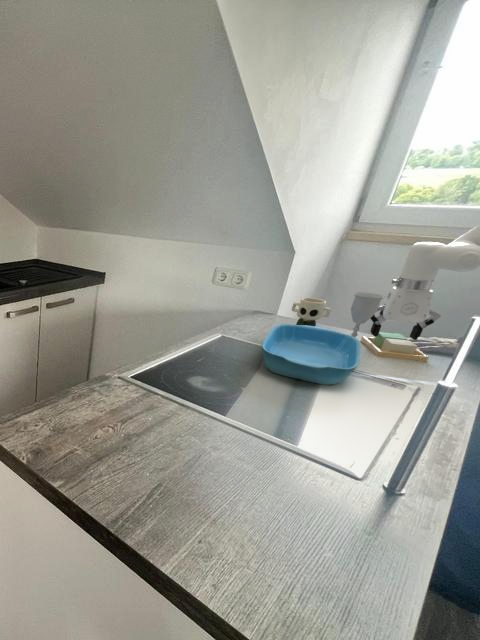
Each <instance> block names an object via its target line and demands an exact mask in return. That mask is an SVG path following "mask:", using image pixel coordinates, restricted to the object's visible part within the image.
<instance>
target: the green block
mask: <svg viewBox="0 0 480 640" xmlns="http://www.w3.org/2000/svg"><path fill="white" fill-rule="evenodd" d="M374 338H375V339H374V341H373V344H375V345H376V346H377V347H378V348H382V345H383V343H384V340H385V338H388V339H398V340H408V338H407V337H406V336H404V335H402V334H401V333H393V332H383V331H379V334H378V336H374Z"/></svg>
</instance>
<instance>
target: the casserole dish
mask: <svg viewBox="0 0 480 640" xmlns="http://www.w3.org/2000/svg"><path fill="white" fill-rule="evenodd" d="M261 350H262V358H263V363H264V366H265V367H266V368H267V369H268V370H269V371H270V372H272V373H274V374H277V375H280V376H284V377H288V378H292V379H295V380H300V381H304V382H308V383H313V384H319V385H326V386H327V385H328V386H331V385H335V384H336V385H337V384H339V383H341V382H343V381H344V380H346V379H347V378H348V377H349V376H350V375H351V374H352V373H353V372H354V370H355V369H357V368H358V367H359V365H360V362H361V342H360V340H359V339H358V338H357V337H353V336H351V334H347V333H343V332H340V331H336V330H333V329H329V328H325V327H320V326H316V327H315V326H307V325H296V324H288V323H285V324H283V323H282V324H278V325H275V326H274V327H272V329H271V330H270V332H269V333H268V335H266V337H265V339H263V342H262V344H261Z"/></svg>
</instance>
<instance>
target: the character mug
mask: <svg viewBox="0 0 480 640" xmlns="http://www.w3.org/2000/svg"><path fill="white" fill-rule="evenodd" d="M326 305H327V301H326V300H325V299H321V298H315V297H302V298H301V299H300V302H293V303H292V306H291V311H292V312H295V313H296V315H297V317H298V320H297V322H296V323H295V325H307V326H315V327H317V320H320V319H322V317H324V318H329V317H330V316H331V315H330V314H331V312H332V308H330V307H328V306H326ZM297 307H298V308H297ZM324 311H326V313H324Z"/></svg>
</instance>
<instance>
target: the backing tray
mask: <svg viewBox="0 0 480 640" xmlns="http://www.w3.org/2000/svg"><path fill="white" fill-rule="evenodd" d="M374 339H375V336H374V337H373V336H364V335H362V336H361V339H360V341H361V342H362V343H363V344H364V345H365V346H366V347H367V348H368V349H369V350H370V351H371V352H372V353H373V354H374V355H376V357H381V358H390V359H399V360H405V361H406V360H407V361H416V362H424V363H426V362H428V361H429V358H430V356H428V355H427V354H425V353H424V352H423V351H421V350H420V349H419V348H417V349H416V351H415V353H414V355H412V354H403V353H394V352H385V351H382V350H381V348H378V347H377V346H376V345H375V344H373V341H374Z"/></svg>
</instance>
